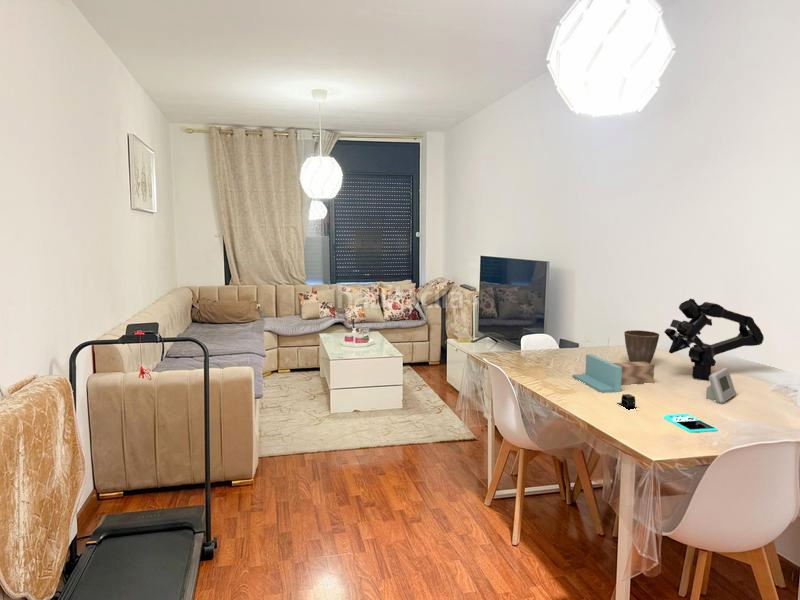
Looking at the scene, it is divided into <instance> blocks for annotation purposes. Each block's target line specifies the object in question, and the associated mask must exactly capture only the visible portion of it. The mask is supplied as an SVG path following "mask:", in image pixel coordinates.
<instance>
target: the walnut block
mask: <svg viewBox="0 0 800 600" xmlns="http://www.w3.org/2000/svg"><path fill="white" fill-rule="evenodd" d="M612 363H613V364H616V365H618V366H620V367H622V375H621V386H632V385H631V384H637V385H645V384H644V383H653V384H654V379H655V377H654V376H655V364H652V363H647V362H645V361H641V362H630V361H625V362H624V361H623V362H612Z"/></svg>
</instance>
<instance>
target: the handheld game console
mask: <svg viewBox="0 0 800 600" xmlns="http://www.w3.org/2000/svg"><path fill="white" fill-rule="evenodd" d="M663 419H664V420H666V421H668V422H670V423H671V424H673V425H675V426H677V427H679V428H681V430H682V429H683V430H685V431H686V432H688V433H691V434H693V433H694V434H695V433H704V432H705V433H708V432H709V433H710V432H718V431H719V428H716V427H715V426H712V425H711V424H709V423H707V422H704V421H703V420H700V419H698V418H696V417H695V416H693V415H690V414H688V413H676V414H675V413H674V414H673V413H672V414H671V413H670V414H666V415H664V416H663Z"/></svg>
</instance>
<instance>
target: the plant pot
mask: <svg viewBox="0 0 800 600" xmlns="http://www.w3.org/2000/svg"><path fill="white" fill-rule="evenodd" d="M659 338H660V334H659V333H658V332H654V331H648V330H639V329H638V330H635V329H634V330H626V331H624V341H625V342H624V343H625V347H626V353H627V358H628V360H629V361H628V362H641V361H645V362H647V363H650V364H652V361H653V359H654V355H655V353H656V349H657V345H658V343H659V340H660V339H659Z"/></svg>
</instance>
